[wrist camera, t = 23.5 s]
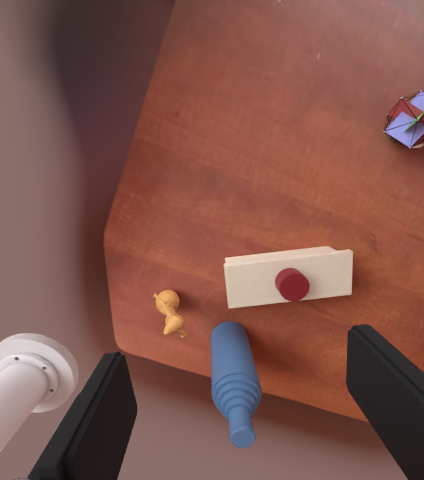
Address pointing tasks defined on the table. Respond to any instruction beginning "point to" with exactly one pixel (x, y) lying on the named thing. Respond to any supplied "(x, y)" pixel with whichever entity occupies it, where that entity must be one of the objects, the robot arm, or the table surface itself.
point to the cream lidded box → (270, 264)
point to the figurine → (170, 312)
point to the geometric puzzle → (407, 121)
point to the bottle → (235, 381)
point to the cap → (292, 284)
